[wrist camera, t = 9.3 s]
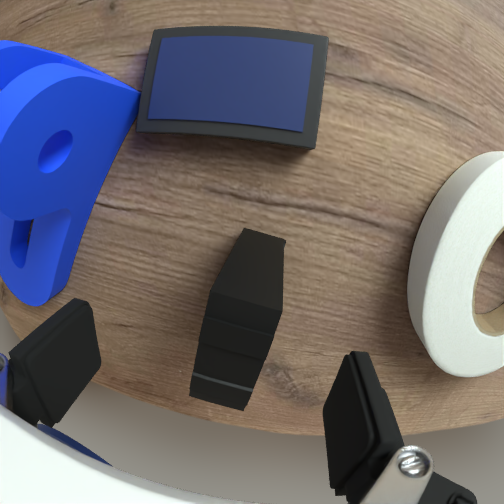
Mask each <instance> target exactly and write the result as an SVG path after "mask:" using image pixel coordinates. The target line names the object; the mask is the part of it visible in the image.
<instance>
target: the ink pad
mask: <svg viewBox="0 0 504 504" xmlns="http://www.w3.org/2000/svg"><path fill="white" fill-rule="evenodd" d="M328 40H329V38H328V37H326V36H320V35H315V34H309V33H303V32H296V31H289V30H280V29H271V28H259V27H242V26H194V27H177V28H165V29H156V30H154V32H153V36H152V40H151V44H150V49H149V53H148V58H147V63H146V68H145V73H144V79H143V85H142V91H141V97H140V104H139V111H138V118H137V126H136V132H140V133H155V134H180V135H197V136H210V137H221V138H231V139H241V140H249V141H257V142H265V143H272V144H279V145H286V146H292V147H298V148H304V149H309V150H312V149H315V146H316V139H317V132H318V125H319V118H320V110H321V103H322V95H323V87H324V78H325V69H326V60H327V50H328Z"/></svg>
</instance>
